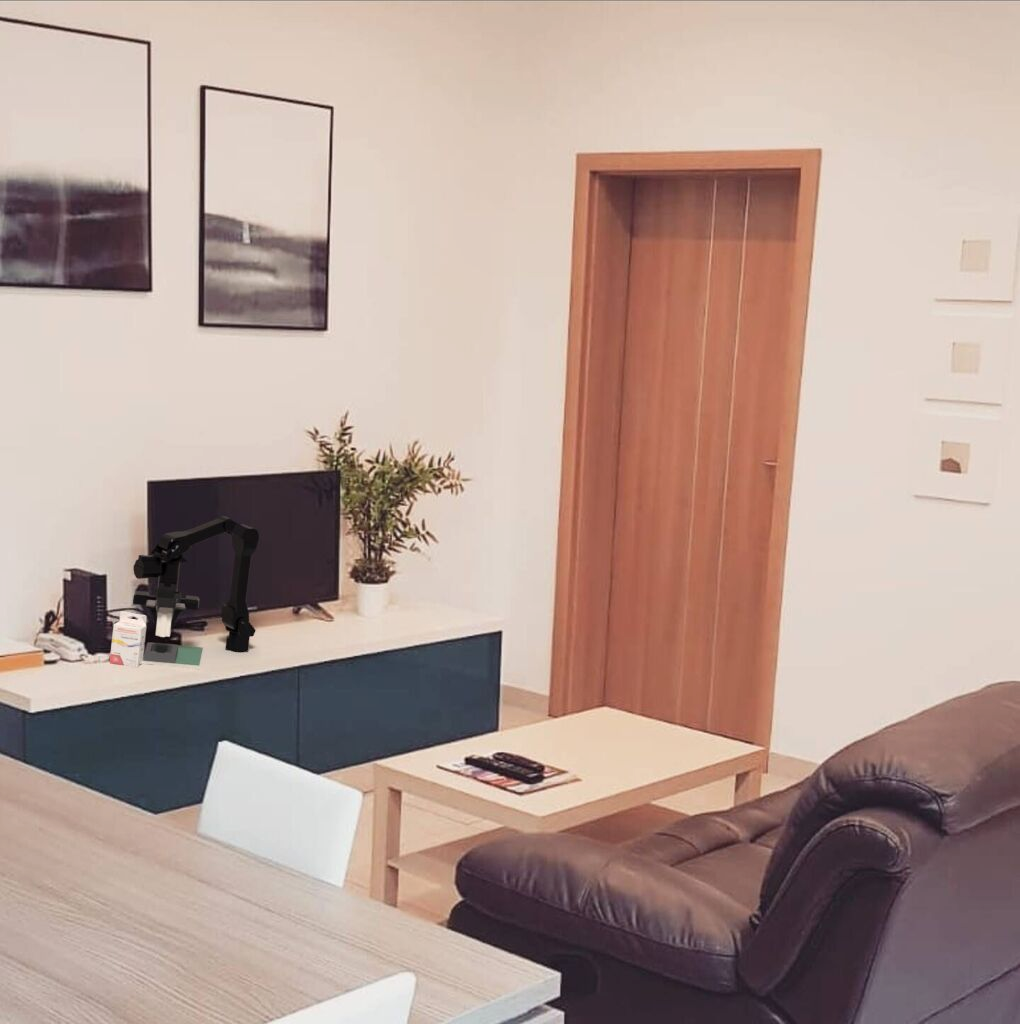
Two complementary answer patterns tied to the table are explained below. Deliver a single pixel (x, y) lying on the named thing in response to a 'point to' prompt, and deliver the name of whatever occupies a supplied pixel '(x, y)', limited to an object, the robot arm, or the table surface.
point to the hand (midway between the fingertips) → (163, 628)
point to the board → (172, 654)
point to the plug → (164, 622)
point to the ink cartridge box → (128, 640)
